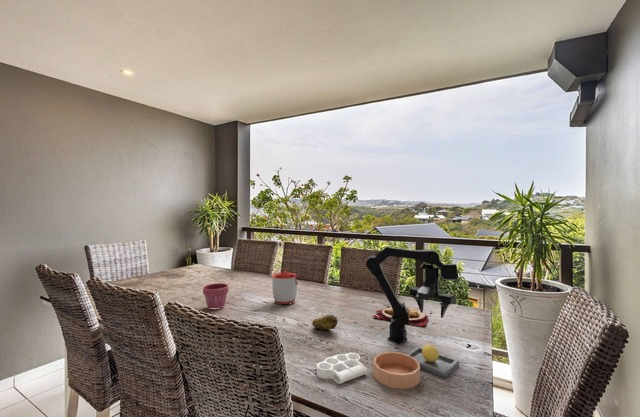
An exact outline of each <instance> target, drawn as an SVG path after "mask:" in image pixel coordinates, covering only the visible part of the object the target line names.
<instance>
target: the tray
mask: <svg viewBox="0 0 640 417" xmlns="http://www.w3.org/2000/svg"><path fill="white" fill-rule="evenodd" d="M423 348H424V347H421V346H417V347H416V348H414V349H413V350H410V351H409V352H408V353H406V355H409V356H412V357H414V358H415V359H416V360H417V361H418V362H419V363H420V370H423V371H426V372H428V373H430V374H433V375H436V376H438V377H441V378H443V379H446V378H448V377H449V375H451V374H452V373H453V372H454V371H455V370H457V368H458V367H459V366H460V360H459V359H456V358H453V357H451V356H448V355H444V354H442V353H439V358H438V360H437V361H436V362H433V363H430V362H427V361H426V360H425V359H424V358H423V356H422V350H423Z"/></svg>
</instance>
